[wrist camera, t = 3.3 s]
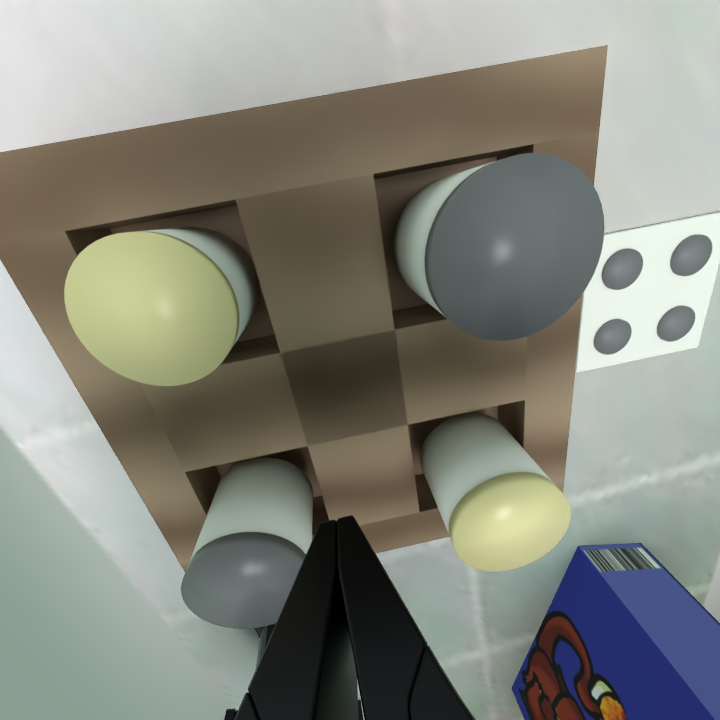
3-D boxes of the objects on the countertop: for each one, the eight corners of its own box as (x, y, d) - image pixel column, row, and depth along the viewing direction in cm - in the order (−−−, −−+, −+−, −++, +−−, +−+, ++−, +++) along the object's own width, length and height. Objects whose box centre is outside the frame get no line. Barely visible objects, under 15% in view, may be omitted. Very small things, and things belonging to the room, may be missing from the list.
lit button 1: (508, 477, 20) (566, 557, 15) (424, 495, 19) (457, 582, 15) (509, 404, 17) (576, 470, 13) (415, 424, 17) (450, 498, 13)
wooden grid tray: (523, 466, 24) (561, 511, 20) (216, 533, 23) (197, 593, 20) (537, 86, 15) (607, 45, 11) (39, 176, 14) (-57, 162, 11)
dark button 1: (510, 290, 15) (593, 323, 10) (401, 312, 15) (438, 355, 10) (511, 164, 13) (615, 136, 8) (385, 187, 13) (422, 172, 8)
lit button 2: (272, 327, 16) (254, 369, 12) (170, 347, 16) (111, 399, 12) (240, 216, 14) (203, 217, 10) (122, 239, 14) (29, 249, 10)
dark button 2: (321, 518, 19) (322, 612, 15) (234, 537, 19) (207, 639, 14) (300, 448, 17) (294, 532, 13) (202, 469, 17) (159, 562, 12)
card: (692, 345, 21) (701, 348, 21) (572, 370, 21) (578, 374, 21) (726, 210, 18) (737, 210, 18) (585, 237, 18) (592, 238, 18)
